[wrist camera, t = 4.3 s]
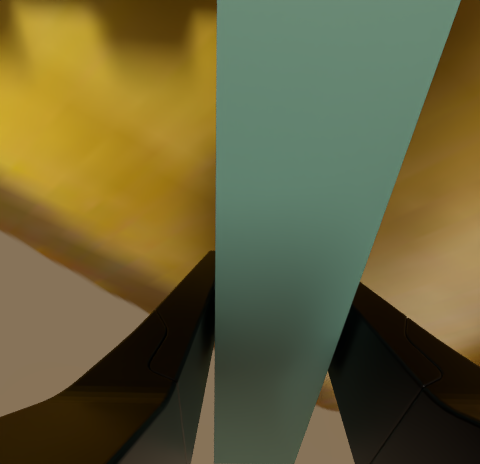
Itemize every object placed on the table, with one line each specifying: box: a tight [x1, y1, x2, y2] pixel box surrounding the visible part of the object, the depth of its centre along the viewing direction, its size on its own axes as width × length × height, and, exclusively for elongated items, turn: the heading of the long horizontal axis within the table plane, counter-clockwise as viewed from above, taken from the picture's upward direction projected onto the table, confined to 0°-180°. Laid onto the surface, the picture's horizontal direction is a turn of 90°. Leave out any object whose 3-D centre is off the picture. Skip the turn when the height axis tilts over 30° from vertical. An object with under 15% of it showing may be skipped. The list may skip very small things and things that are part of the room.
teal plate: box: [214, 0, 461, 464], centre depth 10 cm, size 14×3×8 cm, turn 177°
